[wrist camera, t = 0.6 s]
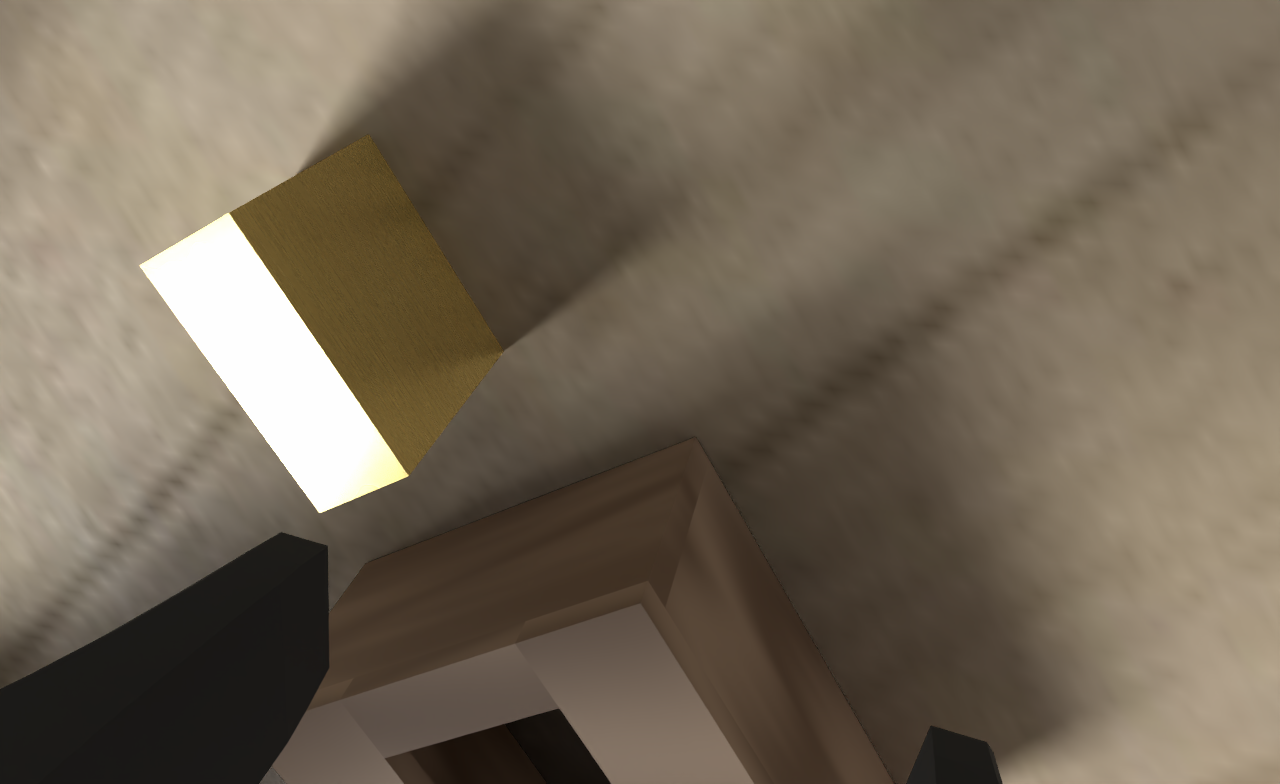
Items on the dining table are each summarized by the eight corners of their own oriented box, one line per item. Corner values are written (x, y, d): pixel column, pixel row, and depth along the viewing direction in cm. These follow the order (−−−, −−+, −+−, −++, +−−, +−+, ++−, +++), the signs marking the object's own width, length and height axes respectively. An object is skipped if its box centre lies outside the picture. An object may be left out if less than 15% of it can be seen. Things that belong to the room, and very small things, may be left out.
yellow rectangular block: (293, 178, 21) (139, 265, 17) (369, 133, 21) (228, 213, 16) (428, 384, 23) (319, 512, 19) (504, 350, 22) (408, 476, 18)
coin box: (365, 563, 25) (243, 730, 21) (695, 436, 22) (640, 603, 17) (592, 878, 29) (533, 1084, 24) (909, 811, 25) (913, 1036, 21)
